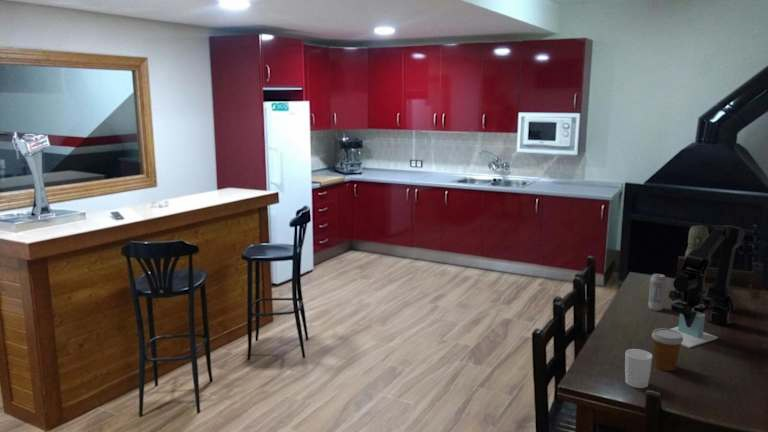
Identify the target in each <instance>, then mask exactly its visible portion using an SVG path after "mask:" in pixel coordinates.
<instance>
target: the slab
mask: <svg viewBox="0 0 768 432" xmlns="http://www.w3.org/2000/svg"><path fill="white" fill-rule="evenodd" d="M694 312H697V313H696V315H695V318H694V320H693V322H692V325H691V326H690V327H687V325H686V322H685V318H684V315H683V314H680V313H679V319H678V326H679V328H678V331H680V332H682V333H685V334H688V335H691V336H693V337H696V338H700V337H703V332H704V329H705V328H704V327H705V319H706V318H705V317H706V313H701V312H698V311H694Z"/></svg>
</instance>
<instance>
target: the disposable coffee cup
mask: <svg viewBox="0 0 768 432" xmlns="http://www.w3.org/2000/svg"><path fill="white" fill-rule="evenodd" d="M651 338H652V346H653V349H652V350H653V363H654V367H655V368H657V369H659V370H661V371H668V372H670V371H675V369H676V364H677V361H678V358H679V354H680V351H681V346H682V345H681V343H682V341H683V338H682V334H681V333H679V332H677V331H675V330H671V328H664V327H663V328H661V327H660V328H655V329H654V330H653V331H652V333H651Z"/></svg>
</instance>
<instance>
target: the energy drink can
mask: <svg viewBox="0 0 768 432" xmlns="http://www.w3.org/2000/svg"><path fill="white" fill-rule="evenodd" d="M665 276H666V275H664V274H660V273H653V274H652V276H651V277H650V279H649V291H648V292H649V293H648V305H647V307H648V308H649V309H650V310H652V311H655V312H661V311H662V310H663V309H665V298H666V297H665V296H666V285H667V283H666V282H667V279H666V277H665Z"/></svg>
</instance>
